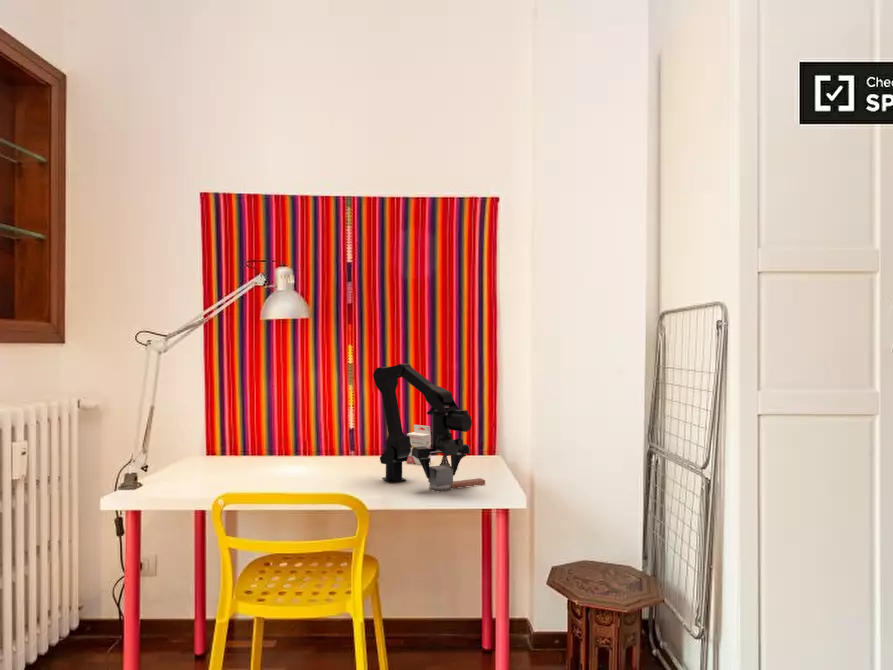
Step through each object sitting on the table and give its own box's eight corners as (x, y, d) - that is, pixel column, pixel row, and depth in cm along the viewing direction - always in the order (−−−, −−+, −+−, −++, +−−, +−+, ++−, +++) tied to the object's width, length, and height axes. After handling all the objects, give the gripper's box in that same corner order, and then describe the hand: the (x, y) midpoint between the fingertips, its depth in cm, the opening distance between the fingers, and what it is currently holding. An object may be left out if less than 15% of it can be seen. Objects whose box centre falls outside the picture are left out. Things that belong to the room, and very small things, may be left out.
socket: (428, 481, 206) (428, 466, 206) (444, 480, 209) (444, 465, 209) (436, 485, 201) (436, 470, 201) (453, 483, 204) (453, 468, 204)
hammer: (435, 492, 200) (435, 476, 200) (426, 487, 206) (426, 472, 206) (488, 486, 209) (488, 471, 209) (477, 481, 215) (477, 467, 215)
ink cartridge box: (406, 463, 246) (406, 425, 247) (413, 461, 251) (413, 424, 251) (424, 465, 242) (424, 427, 242) (431, 463, 246) (431, 425, 246)
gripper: (425, 434, 193) (425, 485, 193) (478, 430, 202) (478, 479, 202) (411, 429, 203) (410, 477, 203) (461, 426, 212) (461, 472, 212)
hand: (440, 476), depth 205 cm, fingers open, 9 cm apart
